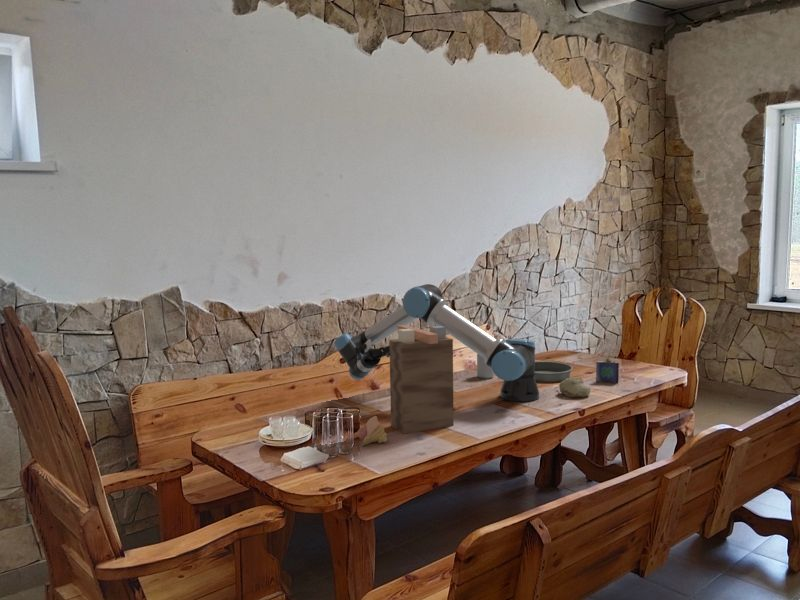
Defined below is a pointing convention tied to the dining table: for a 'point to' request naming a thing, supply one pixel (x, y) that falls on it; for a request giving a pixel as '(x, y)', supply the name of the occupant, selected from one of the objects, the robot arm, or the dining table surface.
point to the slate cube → (439, 331)
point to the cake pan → (551, 371)
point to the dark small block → (607, 371)
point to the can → (483, 368)
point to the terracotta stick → (422, 334)
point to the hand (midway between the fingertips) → (387, 340)
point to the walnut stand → (421, 385)
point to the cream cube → (406, 335)
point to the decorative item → (574, 387)
